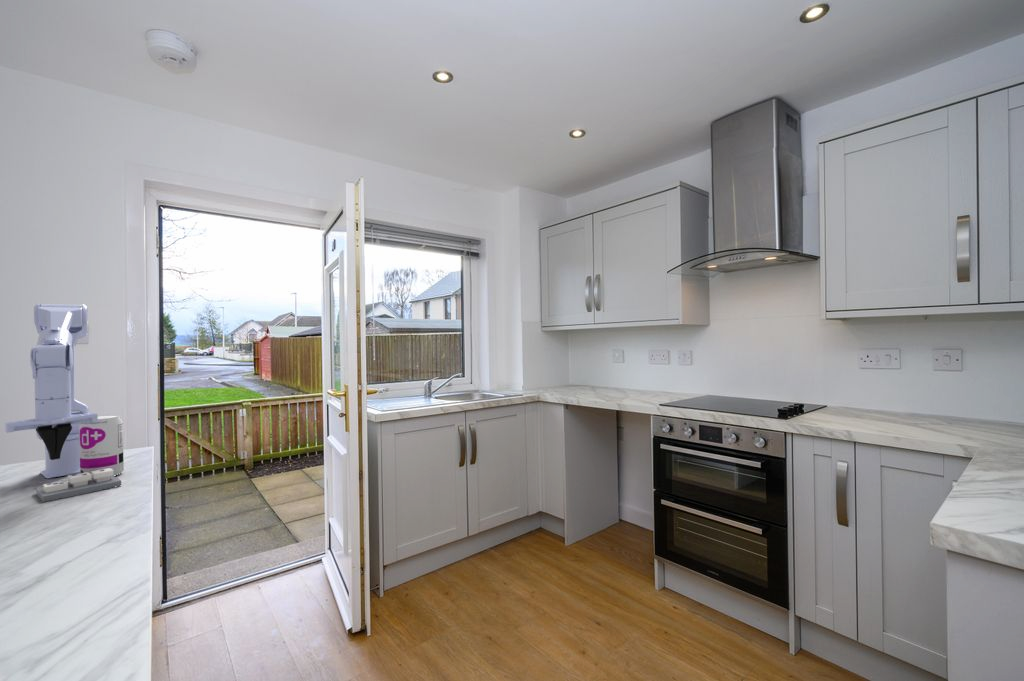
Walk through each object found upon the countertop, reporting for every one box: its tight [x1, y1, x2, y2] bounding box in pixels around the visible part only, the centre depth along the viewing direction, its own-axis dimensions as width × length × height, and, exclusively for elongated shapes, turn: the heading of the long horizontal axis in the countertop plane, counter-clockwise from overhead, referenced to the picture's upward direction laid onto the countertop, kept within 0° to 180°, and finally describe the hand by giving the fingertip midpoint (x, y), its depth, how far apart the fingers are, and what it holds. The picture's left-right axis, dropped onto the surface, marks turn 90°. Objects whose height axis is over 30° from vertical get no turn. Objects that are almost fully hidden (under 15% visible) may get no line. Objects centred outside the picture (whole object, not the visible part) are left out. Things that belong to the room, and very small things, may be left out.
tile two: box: [66, 472, 91, 487], centre depth 106 cm, size 4×4×2 cm
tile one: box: [91, 468, 114, 483], centre depth 109 cm, size 4×4×2 cm
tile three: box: [42, 480, 68, 493], centre depth 103 cm, size 4×4×2 cm
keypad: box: [35, 476, 122, 503], centre depth 106 cm, size 9×13×1 cm
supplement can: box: [79, 414, 125, 478], centre depth 117 cm, size 8×8×15 cm
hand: (54, 458), depth 103 cm, fingers closed
